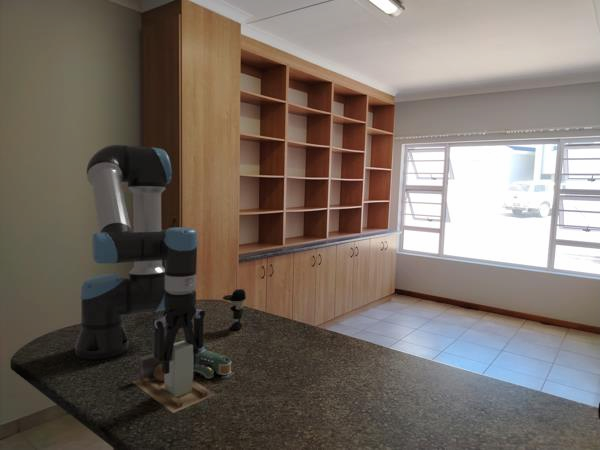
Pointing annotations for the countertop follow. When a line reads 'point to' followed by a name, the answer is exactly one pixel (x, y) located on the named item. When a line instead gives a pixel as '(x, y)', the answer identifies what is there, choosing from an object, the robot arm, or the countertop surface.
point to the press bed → (158, 387)
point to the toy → (236, 307)
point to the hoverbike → (211, 364)
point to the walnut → (158, 373)
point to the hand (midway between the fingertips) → (178, 380)
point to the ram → (181, 369)
